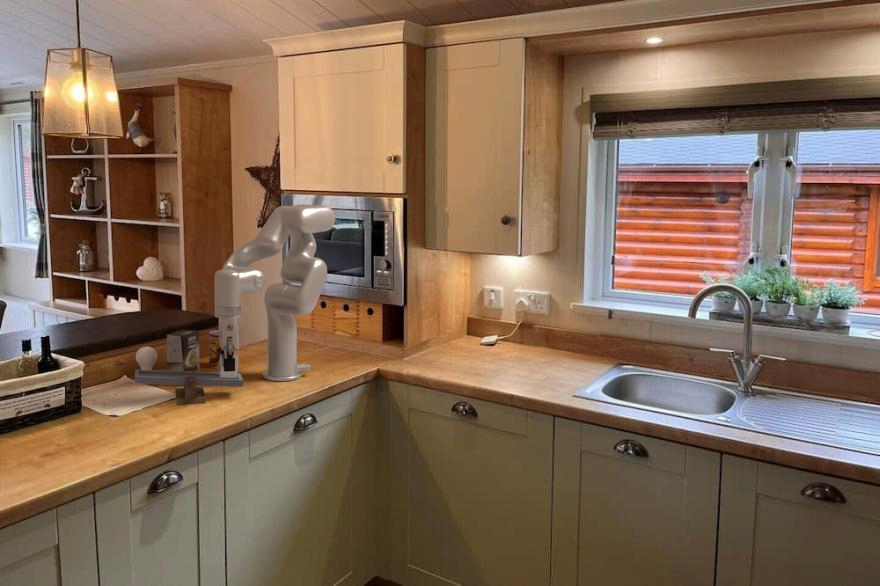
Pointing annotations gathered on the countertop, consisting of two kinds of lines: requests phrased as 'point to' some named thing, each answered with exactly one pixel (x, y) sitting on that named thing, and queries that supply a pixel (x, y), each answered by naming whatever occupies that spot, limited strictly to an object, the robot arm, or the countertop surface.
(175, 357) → the coffee box
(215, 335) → the canned food
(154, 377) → the beam
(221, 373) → the rider
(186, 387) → the fulcrum stand
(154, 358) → the lightbulb
